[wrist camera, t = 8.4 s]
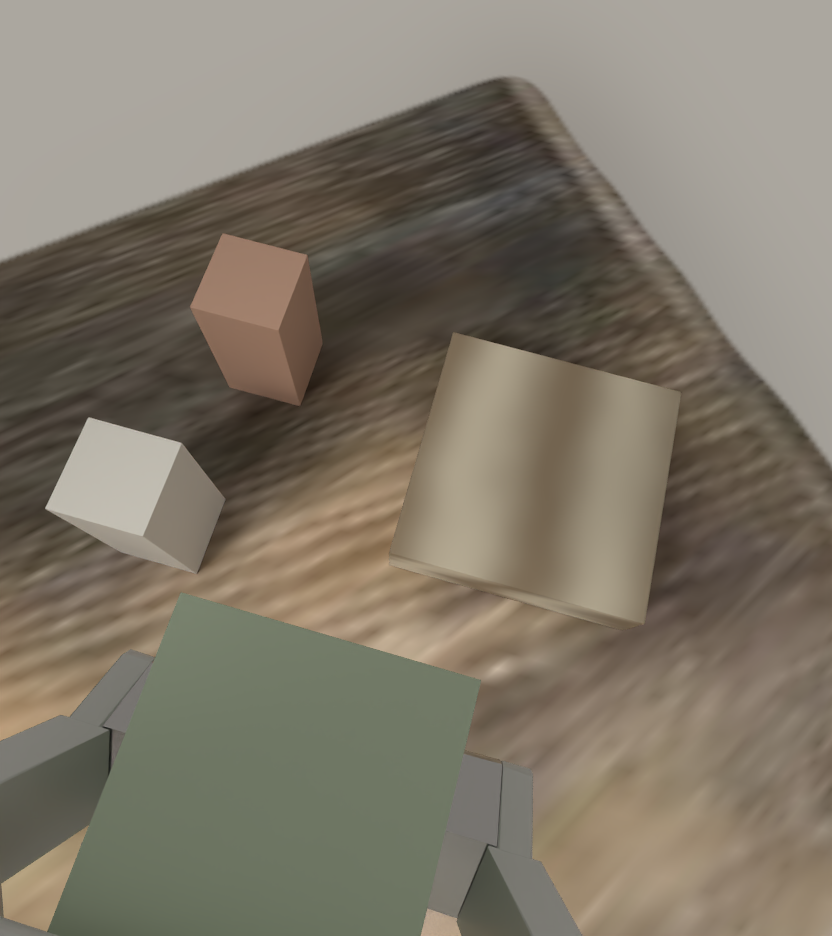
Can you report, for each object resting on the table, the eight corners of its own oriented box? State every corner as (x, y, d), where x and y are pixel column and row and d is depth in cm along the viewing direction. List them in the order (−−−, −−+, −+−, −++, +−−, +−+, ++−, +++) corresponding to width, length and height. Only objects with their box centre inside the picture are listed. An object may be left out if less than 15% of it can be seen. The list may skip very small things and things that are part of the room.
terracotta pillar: (229, 387, 37) (189, 307, 30) (254, 325, 39) (222, 233, 31) (300, 406, 37) (278, 330, 30) (322, 343, 38) (307, 255, 31)
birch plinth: (388, 564, 34) (389, 552, 32) (448, 359, 38) (453, 332, 35) (622, 630, 34) (644, 623, 31) (659, 415, 38) (681, 392, 35)
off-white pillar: (120, 552, 34) (44, 508, 27) (151, 478, 35) (88, 417, 28) (196, 573, 34) (142, 536, 26) (225, 499, 35) (181, 442, 28)
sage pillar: (216, 824, 15) (42, 943, 8) (277, 644, 16) (180, 592, 9) (390, 878, 15) (391, 1057, 7) (438, 692, 16) (481, 680, 9)
